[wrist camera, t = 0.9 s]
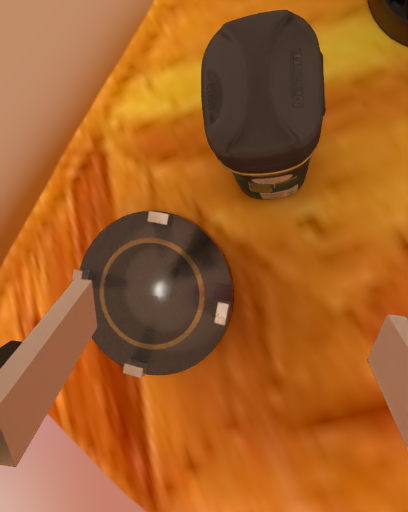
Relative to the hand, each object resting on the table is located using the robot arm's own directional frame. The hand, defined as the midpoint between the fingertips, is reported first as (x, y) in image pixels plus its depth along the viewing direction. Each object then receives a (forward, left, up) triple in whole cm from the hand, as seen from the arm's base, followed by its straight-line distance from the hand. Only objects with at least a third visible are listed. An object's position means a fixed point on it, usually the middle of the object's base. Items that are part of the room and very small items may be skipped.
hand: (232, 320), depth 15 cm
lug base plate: (+13, +5, -23) cm, 27 cm away
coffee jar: (+2, -13, -24) cm, 27 cm away
